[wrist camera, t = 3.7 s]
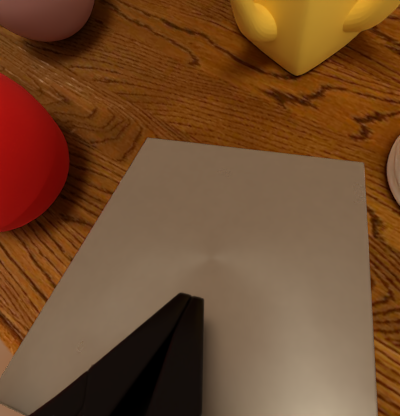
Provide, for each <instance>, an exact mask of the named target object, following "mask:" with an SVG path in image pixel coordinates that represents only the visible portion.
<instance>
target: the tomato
mask: <svg viewBox="0 0 400 416" xmlns="http://www.w3.org/2000/svg"><path fill="white" fill-rule="evenodd" d="M68 171H69V152H68V146H67V142H66V140H65V137H64V135H63V133H62V132H61V130H60V128H59V127H58V125H57V124H56V122H55V121H54V120H53V118H52V117H51V116H50V115H49V113H48V112H47V111H46V110H45V108H44V107H43V106H42V105H41V104H40V103H39V102H38V101H37V100H36V99H35V98H34V97H33V96H32V95H31V94H30V93H29V92H27V91H26V90H25V89H24V88H23V87H22V86H20V85H19V84H17V83H16V82H14V81H13V80H11V79H10V78H8V77H6V76H5V75H3V74H2V73H0V232H4V231H9V230H12V229H16V228H19V227H21V226H23V225H25V224H27V223H29V222H31V221H32V220H34V219H36V218H37V217H39V216H40V215H41V214H42V213H44V212H45V211H46V210H47V209H48V208H49V207H50V205H51V204H52V203H53V202H54V201H55V199H56V198H57V196H58V195H59V193H60V192H61V190H62V188H63V186H64V184H65V182H66V180H67V176H68Z"/></svg>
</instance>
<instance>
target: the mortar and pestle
mask: <svg viewBox="0 0 400 416" xmlns="http://www.w3.org/2000/svg"><path fill="white" fill-rule="evenodd" d="M94 1H95V0H0V25H2V26H3V27H5V28H6V29H8V30H9V31H11V32H13V33H15V34H17V35H20V36H22V37H25V38H28V39H31V40H36V41H42V42H54V41H60V40H63V39H66V38H68V37H70V36H72V35H74V34H75V33H77V32H78V31H79V30H80V29H81V28H82V27H83V26H84V25H85V23H86V22H87V20H88V19H89V17H90V14H91V12H92V9H93V6H94Z"/></svg>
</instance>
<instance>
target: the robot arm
mask: <svg viewBox="0 0 400 416" xmlns="http://www.w3.org/2000/svg"><path fill="white" fill-rule="evenodd" d="M203 340H204V299H203V298H201V297H197V296H191V295H190V294H186V293H183V292H181V293H178V294H177V295H176V296H175V297H174V298H172V299H171V300H170V301H169V302H168V303H166V304H165V305H164V306H163V307H162V308H160V309H159V310H158V311H157V312H156V313H155V314H153V315H152V316H151V317H150V318H149V319H147V320H146V321H145V322H144V323H143V324H141V325H140V326H139V327H138V328H137V329H135V330H134V331H133V332H132V333H131V334H130V335H128V336H127V337H126V338H125V339H124V340H122V341H121V342H120V343H119V344H118V345H116V346H115V347H114V348H113V349H112V350H110V351H109V352H108V353H107V354H106V355H105V356H103V357H102V358H101V359H100V360H99V361H97V362H96V363H95V364H94V365H93V366H91V367H90V368H89V370H88V371H85V372H84V373H83V374H82V375H81V376H79V377H78V378H77V379H76V380H75V381H73V382H72V383H71V384H70V385H68V386H67V387H66V388H65V389H63V390H62V391H61V392H60V393H58V394H57V395H56V396H55V397H53V398H52V399H51V400H49V401H48V402H46V403H45V404H44V405H42V406H41V407H40V408H38V409H37V410H36V411H34V412H33V413H31V414H30V415H29V416H202V395H203Z"/></svg>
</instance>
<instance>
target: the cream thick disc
mask: <svg viewBox="0 0 400 416" xmlns="http://www.w3.org/2000/svg"><path fill="white" fill-rule="evenodd" d="M387 178H388V183H389V186H390V190H391V192H392V194H393V196H394V198H395V200H396V201H397V203H398V204H399V206H400V135H399V137H398V138H397V139H396V141H395V143H394V144H393V146H392V148H391V151H390V154H389V157H388V162H387Z"/></svg>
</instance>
